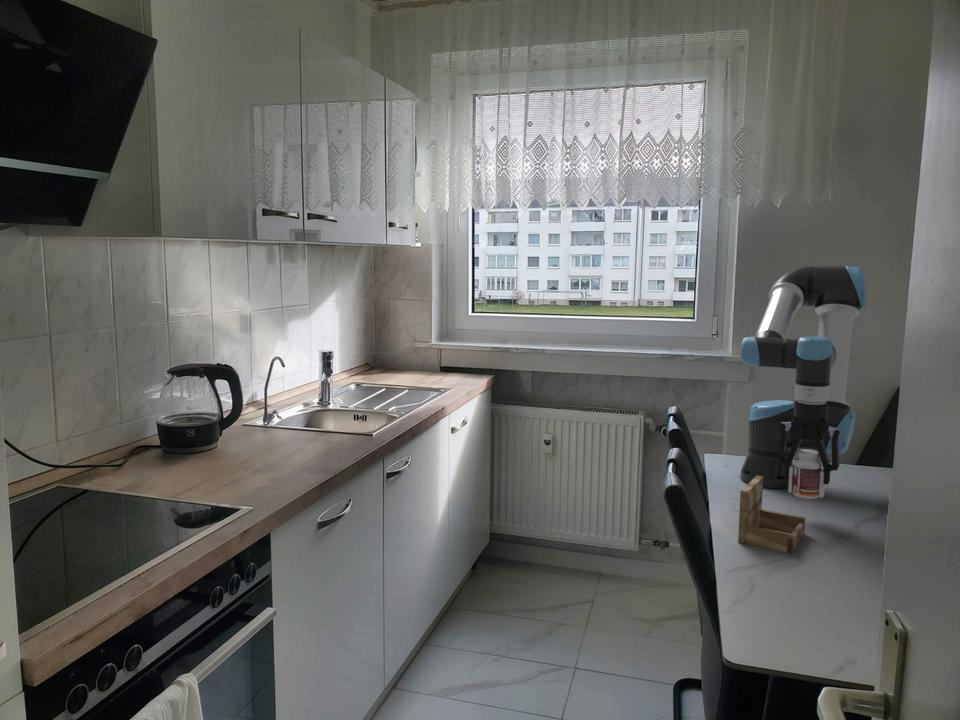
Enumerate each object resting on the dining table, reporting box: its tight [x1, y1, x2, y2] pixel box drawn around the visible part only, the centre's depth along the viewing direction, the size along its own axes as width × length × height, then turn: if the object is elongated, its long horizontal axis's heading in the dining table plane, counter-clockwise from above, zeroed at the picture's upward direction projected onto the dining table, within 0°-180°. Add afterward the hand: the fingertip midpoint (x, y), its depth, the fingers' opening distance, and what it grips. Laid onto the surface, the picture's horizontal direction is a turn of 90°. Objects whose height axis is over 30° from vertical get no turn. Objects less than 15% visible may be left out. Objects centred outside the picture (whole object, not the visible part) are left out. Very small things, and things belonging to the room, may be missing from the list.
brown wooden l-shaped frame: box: [737, 476, 806, 554], centre depth 164 cm, size 14×11×12 cm
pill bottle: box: [792, 449, 822, 500], centre depth 175 cm, size 6×6×11 cm
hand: (806, 493), depth 176 cm, fingers closed on pill bottle, 6 cm apart
